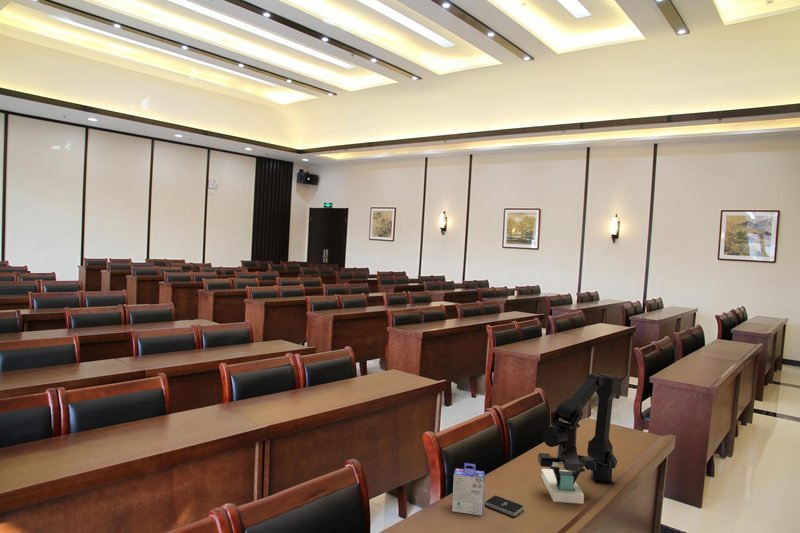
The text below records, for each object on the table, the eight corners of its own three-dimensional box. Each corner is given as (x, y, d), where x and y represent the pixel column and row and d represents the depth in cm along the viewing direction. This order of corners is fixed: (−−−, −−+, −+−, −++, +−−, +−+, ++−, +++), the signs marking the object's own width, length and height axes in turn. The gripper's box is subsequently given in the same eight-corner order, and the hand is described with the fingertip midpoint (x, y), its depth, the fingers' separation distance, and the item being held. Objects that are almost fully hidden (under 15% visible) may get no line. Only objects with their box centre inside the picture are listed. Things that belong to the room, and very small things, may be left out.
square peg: (569, 488, 179) (570, 471, 179) (572, 493, 175) (573, 476, 175) (557, 487, 179) (558, 470, 179) (560, 492, 175) (561, 475, 175)
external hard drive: (514, 519, 160) (514, 513, 160) (483, 507, 167) (483, 501, 167) (524, 512, 165) (524, 506, 165) (494, 500, 172) (494, 494, 172)
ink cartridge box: (483, 508, 166) (485, 464, 165) (482, 516, 160) (485, 470, 160) (453, 504, 168) (455, 460, 167) (451, 512, 162) (453, 466, 162)
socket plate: (568, 478, 192) (568, 470, 192) (583, 503, 172) (584, 494, 172) (541, 476, 192) (541, 468, 192) (553, 501, 172) (553, 492, 172)
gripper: (545, 447, 169) (542, 494, 170) (602, 451, 168) (600, 498, 168) (538, 436, 181) (536, 480, 181) (592, 439, 179) (589, 483, 180)
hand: (565, 485), depth 177 cm, fingers open, 4 cm apart
